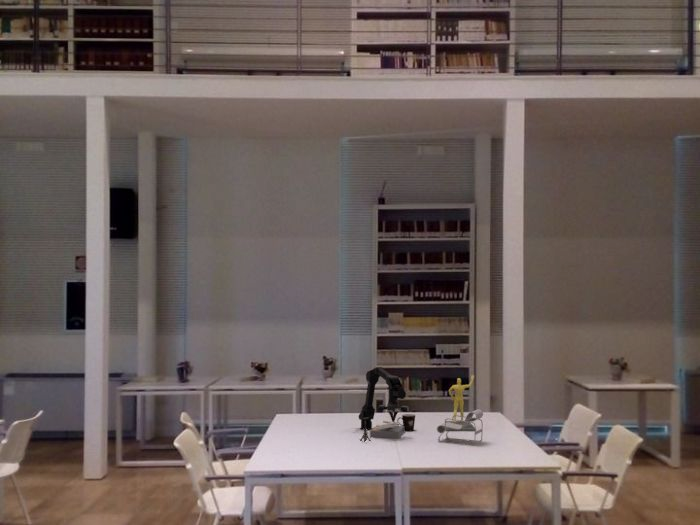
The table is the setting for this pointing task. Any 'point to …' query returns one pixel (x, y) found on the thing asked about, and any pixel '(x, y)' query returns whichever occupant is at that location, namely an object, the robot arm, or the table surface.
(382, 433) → the console
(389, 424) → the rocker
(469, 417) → the chair
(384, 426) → the rocker
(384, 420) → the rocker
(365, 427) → the eiffel tower figurine
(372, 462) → the table surface
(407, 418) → the coffee mug
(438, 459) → the table surface
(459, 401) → the statue
